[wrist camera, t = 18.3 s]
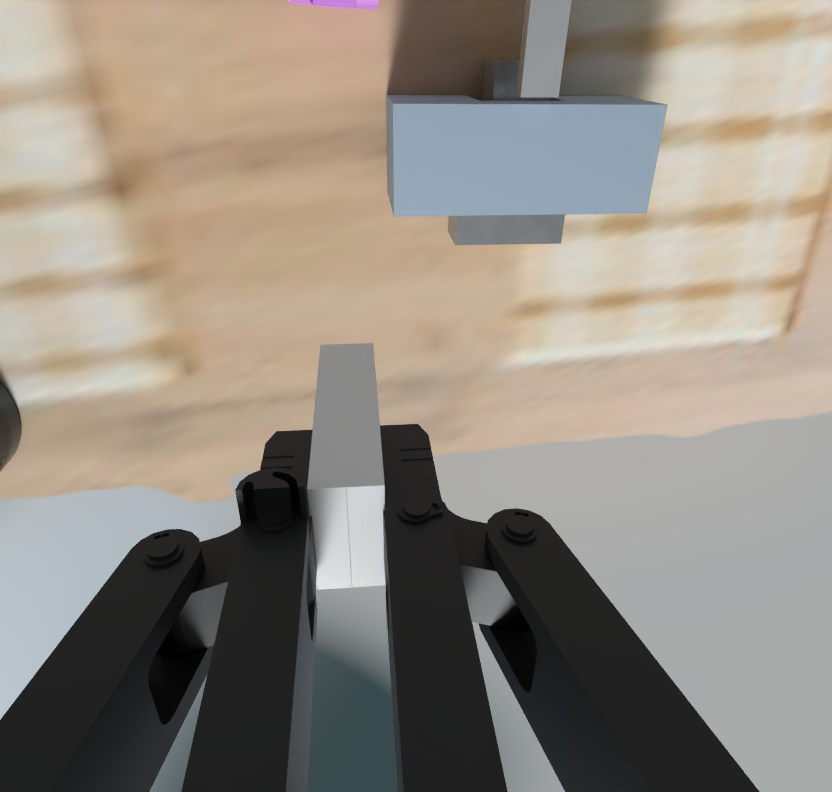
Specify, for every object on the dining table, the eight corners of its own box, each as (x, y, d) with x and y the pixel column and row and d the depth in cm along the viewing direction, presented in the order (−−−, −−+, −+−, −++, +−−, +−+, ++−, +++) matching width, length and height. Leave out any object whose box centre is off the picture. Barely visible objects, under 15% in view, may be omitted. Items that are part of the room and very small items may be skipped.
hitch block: (387, 192, 49) (393, 216, 42) (386, 94, 45) (392, 103, 39) (606, 190, 50) (646, 213, 44) (621, 96, 47) (667, 104, 40)
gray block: (448, 231, 51) (455, 245, 47) (454, 59, 45) (463, 61, 41) (546, 229, 52) (561, 243, 48) (566, 61, 45) (584, 62, 42)
